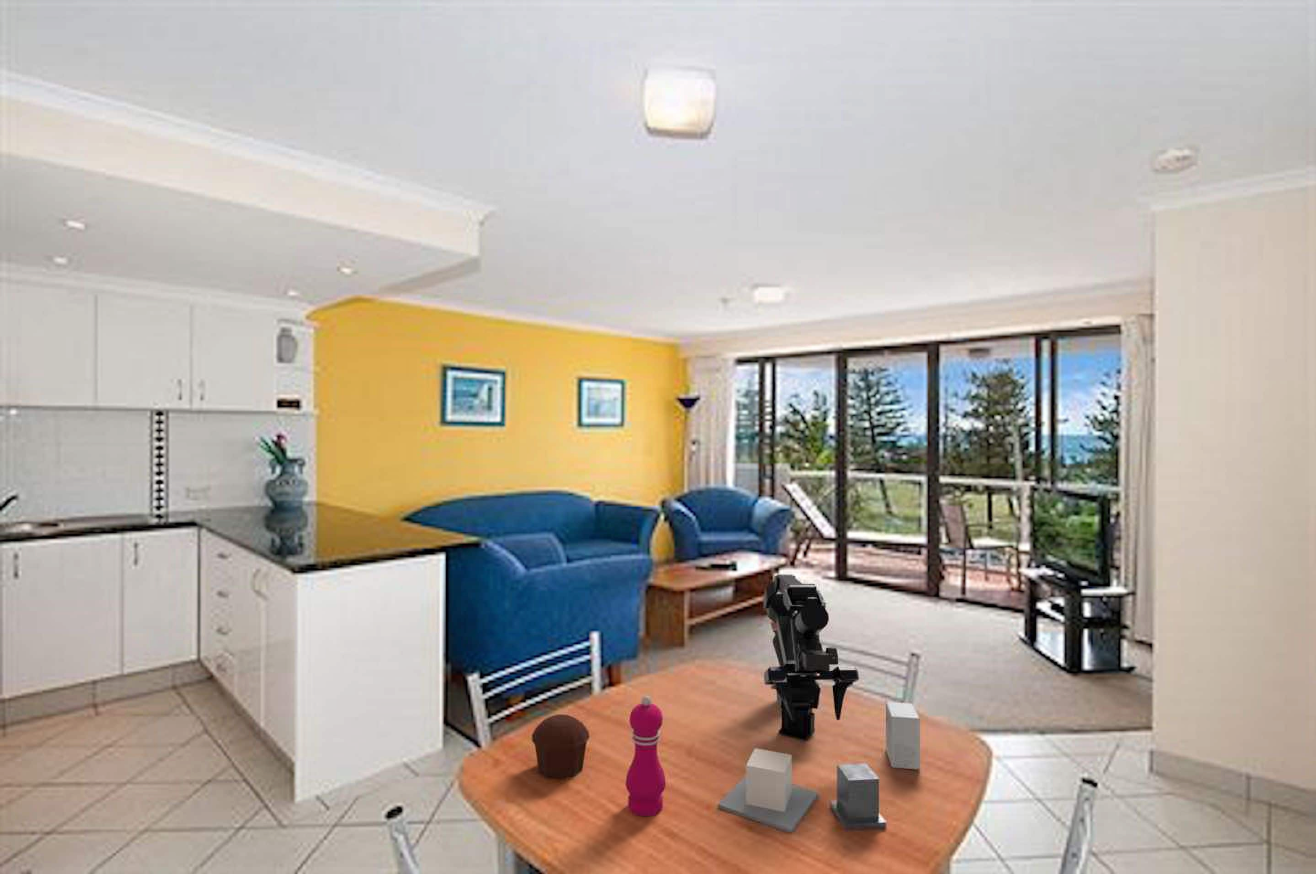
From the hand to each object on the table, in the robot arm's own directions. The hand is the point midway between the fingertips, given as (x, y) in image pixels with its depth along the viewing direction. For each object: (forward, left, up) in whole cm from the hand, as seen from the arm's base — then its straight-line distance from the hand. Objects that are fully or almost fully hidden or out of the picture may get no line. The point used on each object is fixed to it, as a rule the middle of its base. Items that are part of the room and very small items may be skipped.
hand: (815, 720), depth 132 cm
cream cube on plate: (-3, -17, -9) cm, 19 cm away
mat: (-3, -17, -10) cm, 19 cm away
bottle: (-15, +34, -9) cm, 38 cm away
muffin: (-43, -29, -10) cm, 53 cm away
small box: (+14, +13, -10) cm, 22 cm away
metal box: (+12, -13, -10) cm, 20 cm away
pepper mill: (-21, -31, -10) cm, 38 cm away
